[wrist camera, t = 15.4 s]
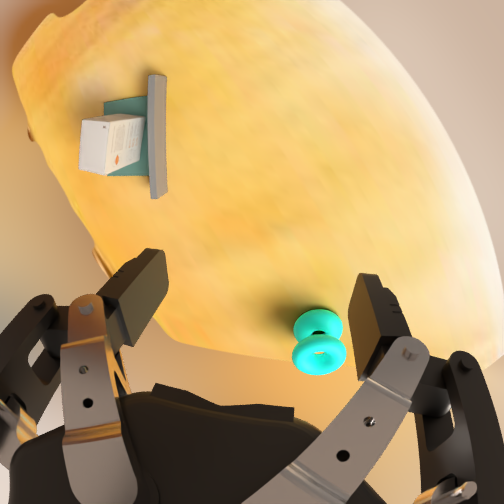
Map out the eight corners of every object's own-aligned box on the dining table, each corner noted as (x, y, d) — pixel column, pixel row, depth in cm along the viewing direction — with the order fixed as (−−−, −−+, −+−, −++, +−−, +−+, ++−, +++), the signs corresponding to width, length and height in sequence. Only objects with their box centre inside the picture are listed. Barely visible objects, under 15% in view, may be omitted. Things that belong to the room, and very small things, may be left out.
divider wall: (160, 77, 36) (148, 75, 32) (166, 76, 36) (155, 74, 32) (161, 191, 46) (150, 198, 42) (167, 192, 45) (157, 199, 42)
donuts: (281, 368, 48) (310, 336, 43) (285, 332, 56) (309, 299, 52) (326, 382, 48) (358, 353, 43) (325, 346, 57) (351, 316, 52)
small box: (120, 113, 39) (81, 117, 30) (147, 116, 39) (110, 120, 30) (114, 156, 43) (77, 170, 34) (140, 161, 43) (104, 176, 34)
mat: (105, 102, 39) (103, 102, 38) (157, 94, 37) (156, 94, 37) (108, 175, 45) (107, 175, 45) (158, 175, 44) (157, 175, 44)
